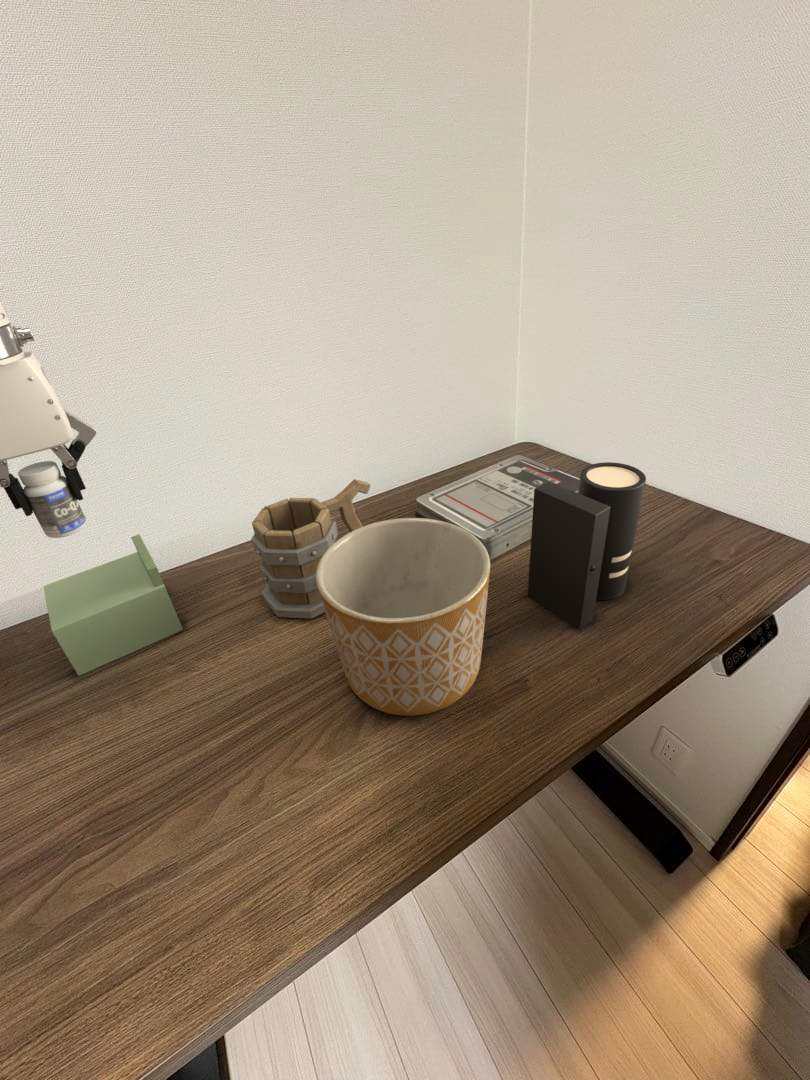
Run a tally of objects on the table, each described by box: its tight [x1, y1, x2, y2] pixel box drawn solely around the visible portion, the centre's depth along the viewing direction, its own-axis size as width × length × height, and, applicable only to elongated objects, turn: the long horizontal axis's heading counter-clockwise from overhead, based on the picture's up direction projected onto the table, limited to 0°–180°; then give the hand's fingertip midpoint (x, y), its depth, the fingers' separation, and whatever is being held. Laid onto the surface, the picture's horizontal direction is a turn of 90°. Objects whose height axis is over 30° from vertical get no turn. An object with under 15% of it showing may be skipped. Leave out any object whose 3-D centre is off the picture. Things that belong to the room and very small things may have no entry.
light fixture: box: [526, 461, 647, 630], centre depth 72 cm, size 10×14×18 cm
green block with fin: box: [43, 534, 184, 677], centre depth 75 cm, size 14×12×11 cm
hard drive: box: [414, 454, 580, 561], centre depth 96 cm, size 18×27×4 cm
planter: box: [316, 517, 491, 717], centre depth 63 cm, size 19×19×16 cm
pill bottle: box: [17, 460, 88, 539], centre depth 64 cm, size 5×5×8 cm
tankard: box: [250, 478, 372, 620], centre depth 80 cm, size 20×13×15 cm, turn 126°
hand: (54, 502), depth 64 cm, fingers closed on pill bottle, 4 cm apart
